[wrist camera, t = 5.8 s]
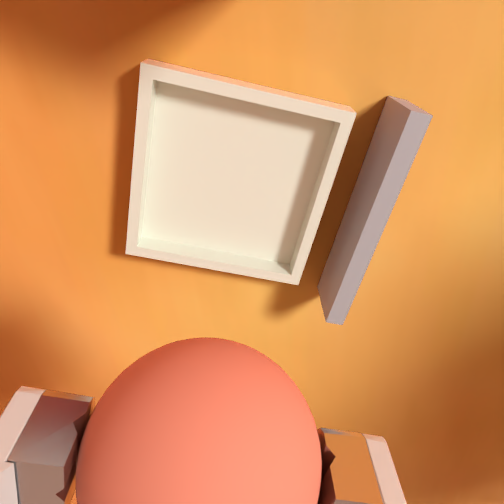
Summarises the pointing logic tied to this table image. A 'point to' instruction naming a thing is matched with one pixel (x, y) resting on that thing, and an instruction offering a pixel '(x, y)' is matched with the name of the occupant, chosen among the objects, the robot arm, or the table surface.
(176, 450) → the ball
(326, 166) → the tray
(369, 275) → the table surface
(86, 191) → the table surface
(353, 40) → the table surface
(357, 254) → the bar
